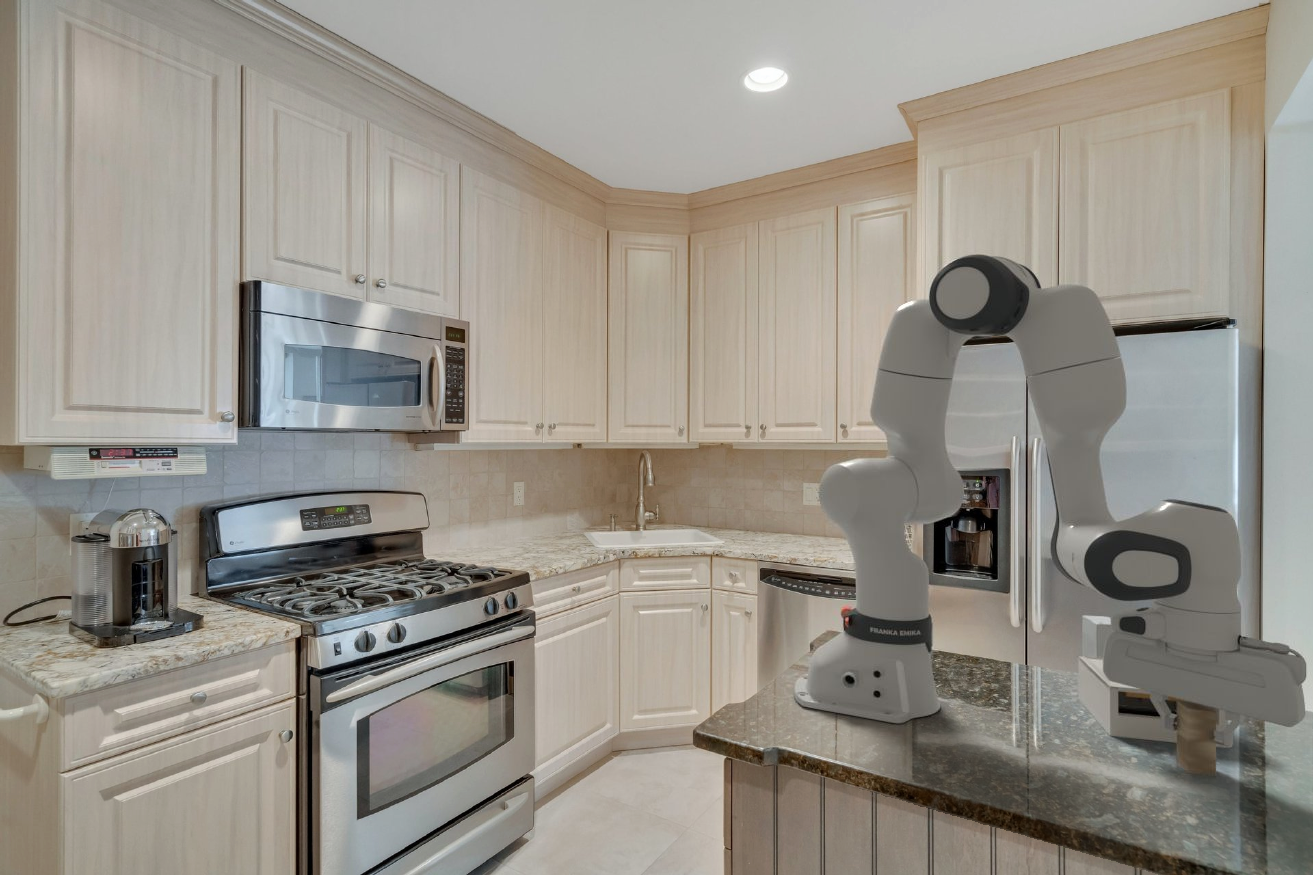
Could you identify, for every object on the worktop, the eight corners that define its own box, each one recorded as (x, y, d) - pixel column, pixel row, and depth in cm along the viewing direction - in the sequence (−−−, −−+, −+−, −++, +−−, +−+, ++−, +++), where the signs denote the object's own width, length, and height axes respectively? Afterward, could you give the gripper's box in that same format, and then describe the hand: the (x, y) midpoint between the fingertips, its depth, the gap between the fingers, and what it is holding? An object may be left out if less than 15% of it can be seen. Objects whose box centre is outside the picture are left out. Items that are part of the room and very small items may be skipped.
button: (1126, 707, 98) (1126, 687, 98) (1106, 687, 106) (1106, 670, 106) (1191, 713, 96) (1191, 693, 96) (1166, 693, 104) (1166, 674, 104)
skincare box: (1125, 699, 110) (1125, 625, 110) (1096, 697, 111) (1096, 623, 111) (1108, 686, 116) (1108, 615, 116) (1081, 684, 117) (1080, 614, 117)
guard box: (1110, 735, 96) (1110, 686, 96) (1078, 699, 110) (1078, 656, 110) (1227, 748, 92) (1227, 696, 93) (1180, 708, 106) (1180, 664, 106)
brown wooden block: (1187, 772, 86) (1187, 709, 86) (1176, 761, 89) (1176, 700, 89) (1216, 775, 85) (1215, 711, 85) (1204, 764, 88) (1203, 702, 88)
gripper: (1313, 643, 80) (1313, 760, 80) (1117, 608, 97) (1117, 705, 97) (1298, 653, 76) (1299, 776, 76) (1097, 614, 93) (1097, 715, 93)
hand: (1195, 736), depth 87 cm, fingers closed on brown wooden block, 4 cm apart
